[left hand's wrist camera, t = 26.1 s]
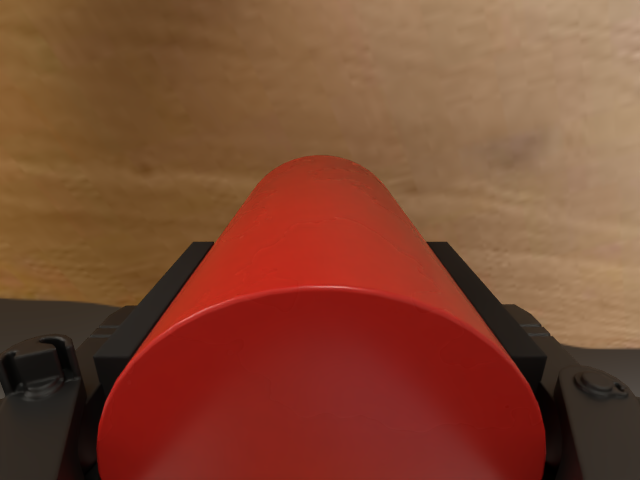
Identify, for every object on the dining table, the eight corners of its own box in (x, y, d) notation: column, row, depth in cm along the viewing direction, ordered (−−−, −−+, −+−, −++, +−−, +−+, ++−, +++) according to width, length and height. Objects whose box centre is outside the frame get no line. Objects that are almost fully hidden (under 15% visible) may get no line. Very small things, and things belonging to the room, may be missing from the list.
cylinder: (267, 130, 17) (136, 211, 5) (426, 187, 18) (646, 374, 6) (223, 278, 19) (69, 569, 7) (364, 321, 20) (427, 641, 8)
